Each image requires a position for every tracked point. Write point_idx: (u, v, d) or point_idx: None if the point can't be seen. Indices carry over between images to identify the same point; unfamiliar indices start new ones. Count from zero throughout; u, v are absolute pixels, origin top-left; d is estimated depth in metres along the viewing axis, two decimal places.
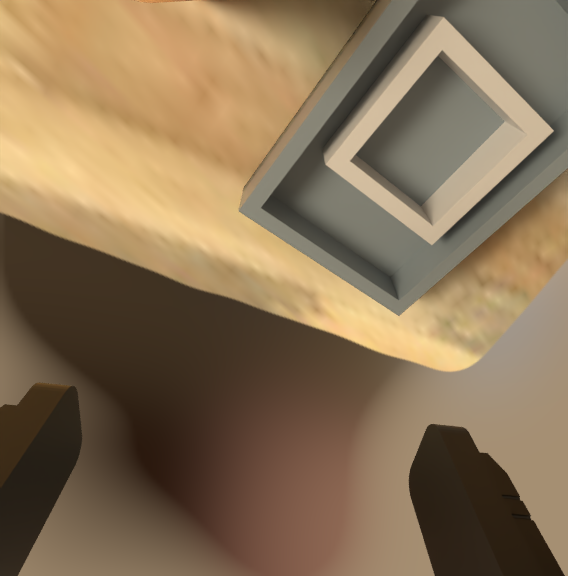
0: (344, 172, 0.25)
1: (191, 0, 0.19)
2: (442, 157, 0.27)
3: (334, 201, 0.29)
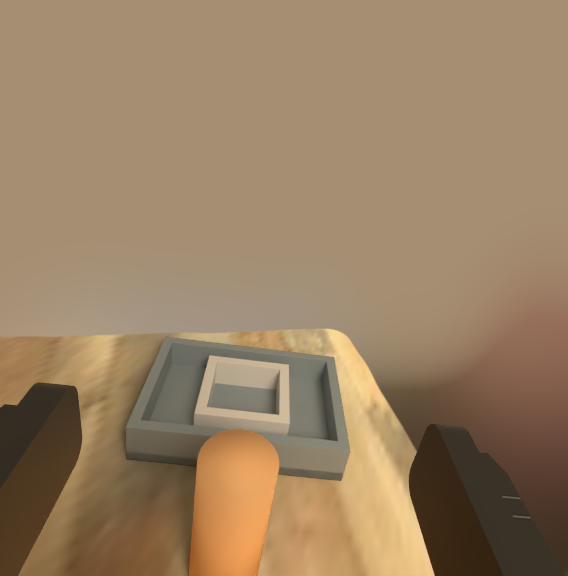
0: (286, 414, 0.41)
1: None
2: (247, 395, 0.47)
3: (306, 426, 0.44)
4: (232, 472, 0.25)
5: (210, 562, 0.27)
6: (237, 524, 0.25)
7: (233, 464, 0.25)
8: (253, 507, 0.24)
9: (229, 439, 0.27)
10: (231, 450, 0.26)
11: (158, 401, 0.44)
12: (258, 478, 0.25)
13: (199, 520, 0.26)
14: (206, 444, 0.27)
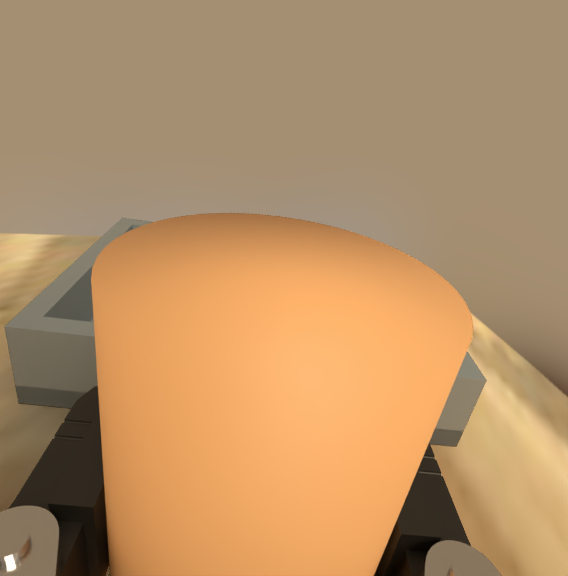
0: None
1: None
2: None
3: None
4: (265, 297, 0.05)
5: None
6: (291, 558, 0.05)
7: (266, 279, 0.06)
8: (381, 464, 0.04)
9: (242, 228, 0.07)
10: (253, 247, 0.07)
11: None
12: (397, 325, 0.05)
13: (117, 536, 0.06)
14: (152, 227, 0.07)
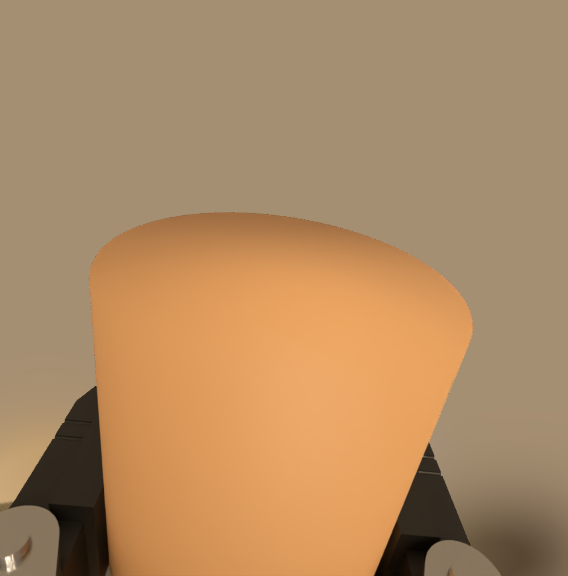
0: None
1: None
2: None
3: None
4: (264, 296, 0.05)
5: None
6: (290, 557, 0.05)
7: (264, 278, 0.06)
8: (381, 462, 0.04)
9: (242, 227, 0.07)
10: (252, 246, 0.07)
11: None
12: (396, 323, 0.05)
13: (117, 537, 0.06)
14: (151, 226, 0.07)
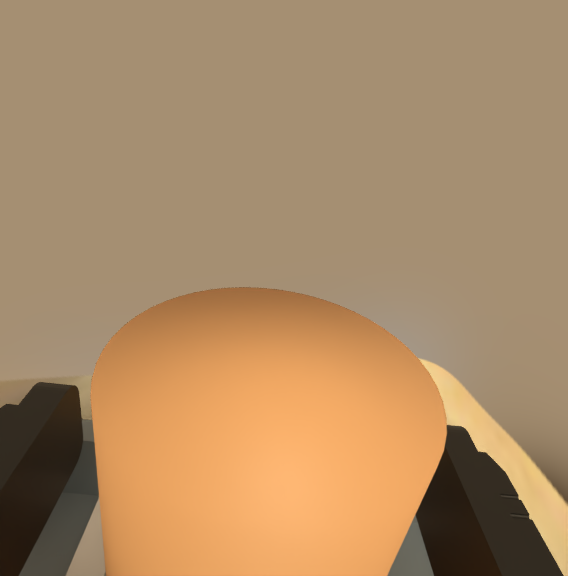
0: None
1: None
2: None
3: None
4: (253, 408, 0.05)
5: None
6: None
7: (254, 382, 0.06)
8: (357, 575, 0.05)
9: (235, 309, 0.08)
10: (244, 336, 0.07)
11: None
12: (374, 436, 0.05)
13: None
14: (148, 315, 0.07)
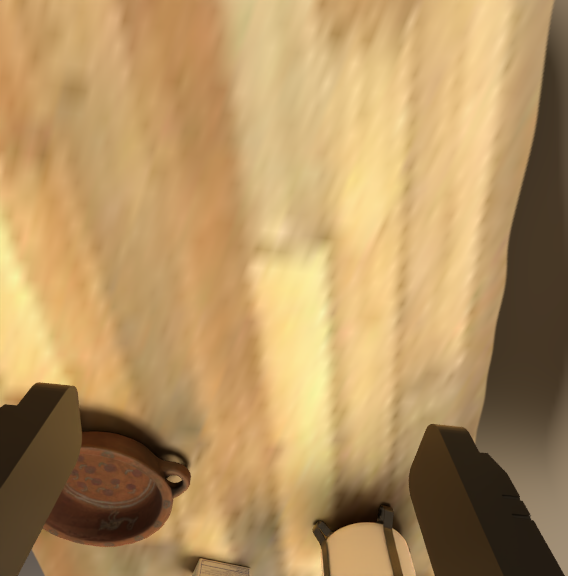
0: None
1: None
2: None
3: None
4: None
5: None
6: None
7: None
8: None
9: None
10: None
11: None
12: None
13: None
14: None
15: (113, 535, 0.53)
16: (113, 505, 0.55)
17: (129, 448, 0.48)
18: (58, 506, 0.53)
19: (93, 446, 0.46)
